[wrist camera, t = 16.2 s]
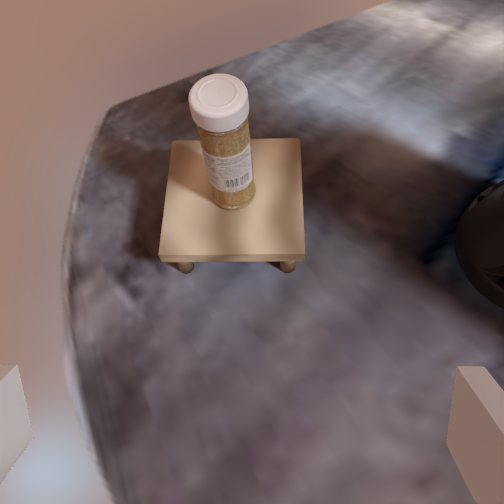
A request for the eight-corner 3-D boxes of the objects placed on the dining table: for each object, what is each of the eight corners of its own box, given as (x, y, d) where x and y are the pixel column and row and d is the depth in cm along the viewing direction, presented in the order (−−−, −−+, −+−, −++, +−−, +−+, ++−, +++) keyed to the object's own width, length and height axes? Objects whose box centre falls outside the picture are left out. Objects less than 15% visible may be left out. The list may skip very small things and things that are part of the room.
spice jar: (254, 173, 46) (245, 67, 34) (258, 210, 44) (250, 111, 32) (210, 177, 46) (186, 73, 34) (212, 214, 44) (187, 118, 32)
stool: (298, 171, 53) (300, 137, 48) (302, 278, 47) (304, 253, 42) (182, 173, 54) (172, 140, 49) (171, 279, 48) (158, 255, 43)
